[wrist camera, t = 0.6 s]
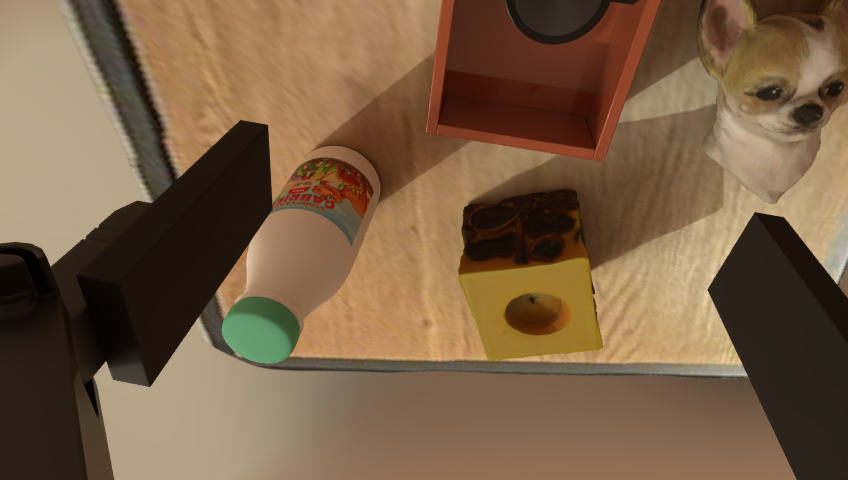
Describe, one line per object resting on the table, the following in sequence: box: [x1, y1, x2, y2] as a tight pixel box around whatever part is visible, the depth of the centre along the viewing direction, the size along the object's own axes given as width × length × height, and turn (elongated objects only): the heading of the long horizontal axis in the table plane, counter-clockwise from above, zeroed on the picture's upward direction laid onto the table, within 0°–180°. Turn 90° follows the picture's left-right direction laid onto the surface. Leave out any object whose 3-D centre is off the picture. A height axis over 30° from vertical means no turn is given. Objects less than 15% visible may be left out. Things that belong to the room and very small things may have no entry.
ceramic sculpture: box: [697, 0, 848, 204], centre depth 34 cm, size 11×9×15 cm
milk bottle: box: [222, 146, 381, 363], centre depth 40 cm, size 8×8×20 cm
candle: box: [458, 189, 603, 361], centre depth 45 cm, size 10×10×10 cm
